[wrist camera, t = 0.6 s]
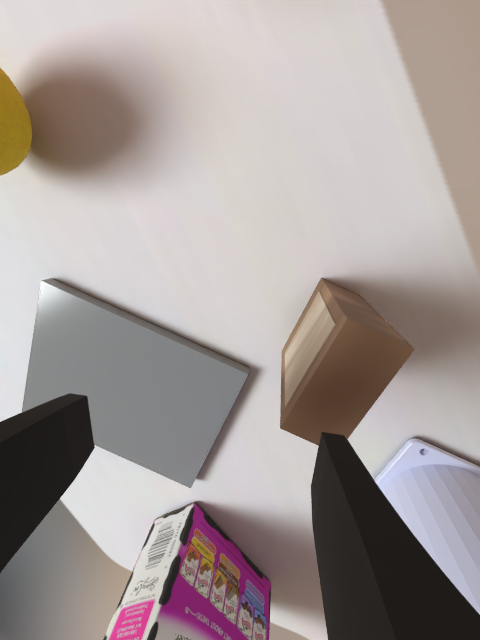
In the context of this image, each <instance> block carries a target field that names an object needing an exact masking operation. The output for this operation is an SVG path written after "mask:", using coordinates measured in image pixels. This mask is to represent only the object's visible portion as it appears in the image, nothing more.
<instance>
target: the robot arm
mask: <svg viewBox="0 0 480 640" xmlns="http://www.w3.org/2000/svg"><path fill="white" fill-rule="evenodd" d="M94 448H95V447H94V440H93V433H92V426H91V419H90V412H89V405H88V397H87V396H85V395H78V394H72V393H69V394H66V395H63V396H60V397H58V398H55V399H53V400H50V401H48V402H45V403H43V404H41V405H38V406H36V407H34V408H31V409H29V410H27V411H25V412H22V413H20V414H18V415H15V416H13V417H11V418H8V419H6V420H4V421H2V422H0V573H1V571H2V570H3V569H4V567H5V566H6V565H7V563H8V562H9V561H10V559H11V558H12V557H13V556H14V554H15V553H16V552H17V551H18V550H19V548H20V547H21V546H22V545H23V543H24V542H25V541H26V540H27V538H28V537H29V536H30V535H31V533H32V532H33V531H34V530H35V528H36V527H37V526H38V525H39V524H40V522H41V521H42V520H43V519H44V517H45V516H46V515H47V514H48V512H49V511H50V510H51V509H52V507H53V506H54V505H55V504H56V502H57V501H58V500H59V499H60V497H61V496H62V495H63V494H64V492H65V491H66V490H67V489H68V487H69V486H70V485H71V483H72V482H73V481H74V479H75V478H76V476H77V475H78V473H79V472H80V470H81V469H82V467H83V466H84V464H85V462H86V461H87V459H88V458H89V456H90V454H91V453H92V451H93V449H94ZM421 449H424V450H422V451H420V450H421ZM311 499H312V523H313V533H314V540H315V548H316V555H317V562H318V569H319V577H320V584H321V591H322V598H323V605H324V612H325V620H326V627H327V634H328V640H480V467H479V466H477V465H475V464H473V463H471V462H468V461H466V460H464V459H462V458H460V457H457V456H455V455H453V454H451V453H448V452H446V451H444V450H442V449H440V448H437V447H435V446H433V445H431V444H429V443H426V442H424V441H422V440H420V439H416V438H413V439H410V440H408V441H407V442H406V443H405V445H404V446H403V447H402V448H401V449H400V450H399V452H398V453H397V454H396V455H395V456H394V457H393V459H392V460H391V461H390V462H389V463H388V464H387V466H386V467H385V468H384V469H383V470H382V471H381V473H380V474H379V475H378V476H377V477H376V478H375V480H374V479H373V478H372V476H371V475H370V473H369V472H368V470H367V469H366V467H365V466H364V464H363V463H362V461H361V460H360V458H359V457H358V455H357V454H356V452H355V451H354V449H353V448H352V446H351V445H350V443H349V442H348V440H347V439H346V437H345V436H344V435H339V434H332V433H326V432H321V437H320V443H319V448H318V453H317V458H316V463H315V468H314V473H313V479H312V484H311Z"/></svg>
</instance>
